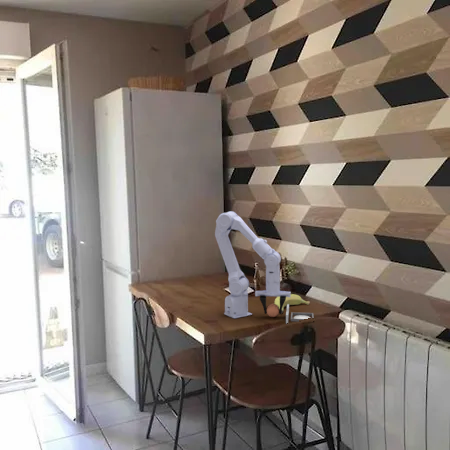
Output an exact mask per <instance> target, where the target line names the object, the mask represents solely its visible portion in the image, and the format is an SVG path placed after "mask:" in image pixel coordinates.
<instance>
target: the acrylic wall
mask: <svg viewBox="0 0 450 450" xmlns="http://www.w3.org/2000/svg"><path fill="white" fill-rule="evenodd" d="M285 311H286V312H285V324H287V323H288V324H289V317H290V316H289V315H290V305H289V304H287V306H286V310H285ZM288 324H287V325H288Z"/></svg>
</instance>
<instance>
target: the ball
mask: <svg viewBox="0 0 450 450" xmlns="http://www.w3.org/2000/svg"><path fill="white" fill-rule="evenodd" d="M266 308H267V309H266V312H267V313H266V315H267V316H269V317H271V318H274V317H275V318H276V317H277V316H278V315H280V314H279V307H278V306H277V305H276V304H274V303H270V304H268V305H266Z"/></svg>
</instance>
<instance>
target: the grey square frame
mask: <svg viewBox="0 0 450 450" xmlns="http://www.w3.org/2000/svg"><path fill="white" fill-rule="evenodd" d="M290 313H291V314H290V322H299V320H304V319H308V318H311V319H312V318H314V316H315V315H314V312H292V311H291V312H290ZM314 319H315V318H314Z"/></svg>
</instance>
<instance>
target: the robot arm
mask: <svg viewBox="0 0 450 450" xmlns="http://www.w3.org/2000/svg"><path fill="white" fill-rule="evenodd" d="M215 223H216V225H215V230H214V237H215V240H216V242H217V245H218V249H219V251H220V254H221V256H222V259H223V262H224V264H225V267H226V271H227V273H228V278H227V279H228V284H229V285H228V290H229V292H230V294H229V295H227V296H226V297H225V298H224V312H223V314H224V315H225V316H227V317H229V318H232V319H239V318H243V317H247V316H251V315H253V313H251V312H249V294H248V290H247V289H248V288H250V287H249V286H250V282H249V279H248V278H247V277H246V275H245V273H244V272H243V271H242V269H241V267H240V265H239V262H238V259H237V256H236V255H235V251H234V249H233V246H232V242H231V240H230V237H229V234H230V232H231V230H235V231H238V232H240V233H241V234H242V236H244V237H245V238H246V239H247V240H248V241H249V242H250V243H251V245H252V246H251V247H252V249H253V250H254V252H256V254H257V255H259V257H260V258H261V259H263V263H264V266H265V289H264V290H255V292H254V295H255V296H254V297H259V301H260V302H261V305H262V307H263V311H264V314H265V315H267V312H266V309H267V297H276V298H277V297H280V310H279V314H278V315H282V313H281V310H282V307H283V304H284V302H285V300H286V297H291V294H292V293H291V291H287V290H286V291H285V290H281V283H280V282H281V279H280V277H281V270H280V269H281V268H280V264H281V262H282V257H281V254H280V253H279V251H276V250H275V248H272V247H271V246H270V245H269V244H268V240H267V239H263V238H262V237H260V238H259V237H258V236H257V235H256V234H255V232H253V231H252V229H251V228H250V227H249V226H248V224H247V223H246V222H245V221H244V220H243V218H242V217H241V216H239V215H238V214H237V213H236V212H235V211H233V210H232V211H227V212H222V213H220V214H219V215H218V217H217V218H216V220H215ZM283 308H284V307H283Z"/></svg>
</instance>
